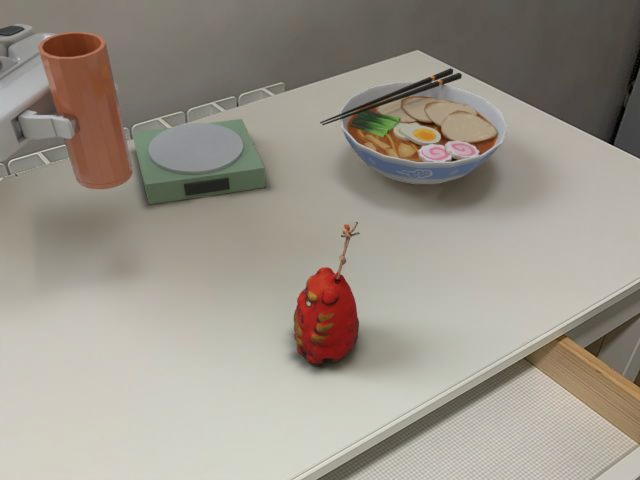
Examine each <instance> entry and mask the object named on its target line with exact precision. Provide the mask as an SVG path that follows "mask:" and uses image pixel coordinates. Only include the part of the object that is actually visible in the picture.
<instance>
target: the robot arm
mask: <svg viewBox="0 0 640 480" xmlns="http://www.w3.org/2000/svg"><path fill="white" fill-rule="evenodd" d="M56 34H57V33H56V32H55V33H54V32H38V33H36V31H35V29H34V28H33V26H32V25H30V24H25V23H15V24H12V25H8V26H5V27H2V28H0V162H4V161H6V160H7V159H8V158H9V157H11V156H12V155H13V154H14V153H16V152H17V151H18V150H20V149H21V148H23V147H24V146H25V145H26V144H27V143H29V142H30V141H32V140H36V141H37V140H43V139H52V138H62V139H64V138H67V139H71V138H72V137H74V136H75V135H76V134H77V133H78V132H79V131H80V127H79V126H78V120H77V118H76V116H74V115H72V114H67V113H63V112H60V113H58V114H57V113H56V109H55V106H54V102H53V99H52V95H51V92H50V88H49V85H48V81H47V78H46V75H45V71H44V68H43V64H42V61H41V57H40V54H39V50H38V46H39V44H40V42H41V41H43V40H44V39H46V38H48V37H50V36H53V35H56ZM114 84H115V88H116V93H117V98H118V101H120V99H121V95H120V89H119V86H118V84H117V83H116V82H114Z"/></svg>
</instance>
